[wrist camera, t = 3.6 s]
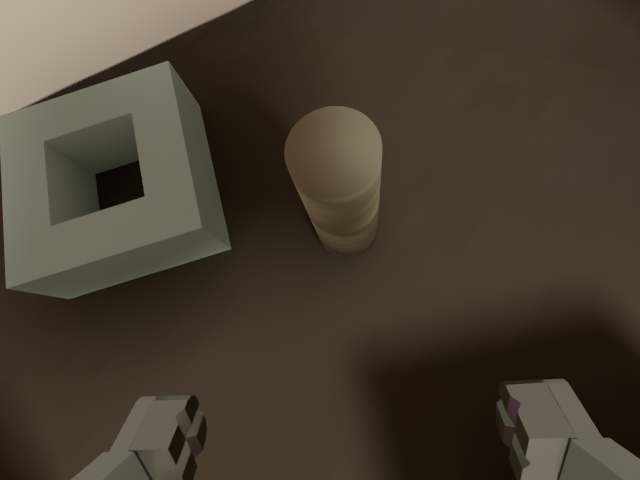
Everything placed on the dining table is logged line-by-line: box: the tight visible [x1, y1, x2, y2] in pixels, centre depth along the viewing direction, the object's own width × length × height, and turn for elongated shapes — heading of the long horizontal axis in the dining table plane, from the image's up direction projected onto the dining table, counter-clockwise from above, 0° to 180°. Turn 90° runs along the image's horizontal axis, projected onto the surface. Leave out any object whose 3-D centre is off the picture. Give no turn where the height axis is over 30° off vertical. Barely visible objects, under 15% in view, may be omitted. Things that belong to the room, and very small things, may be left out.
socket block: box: [0, 61, 231, 299], centre depth 27 cm, size 12×12×5 cm
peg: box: [284, 106, 382, 257], centre depth 21 cm, size 4×4×11 cm
